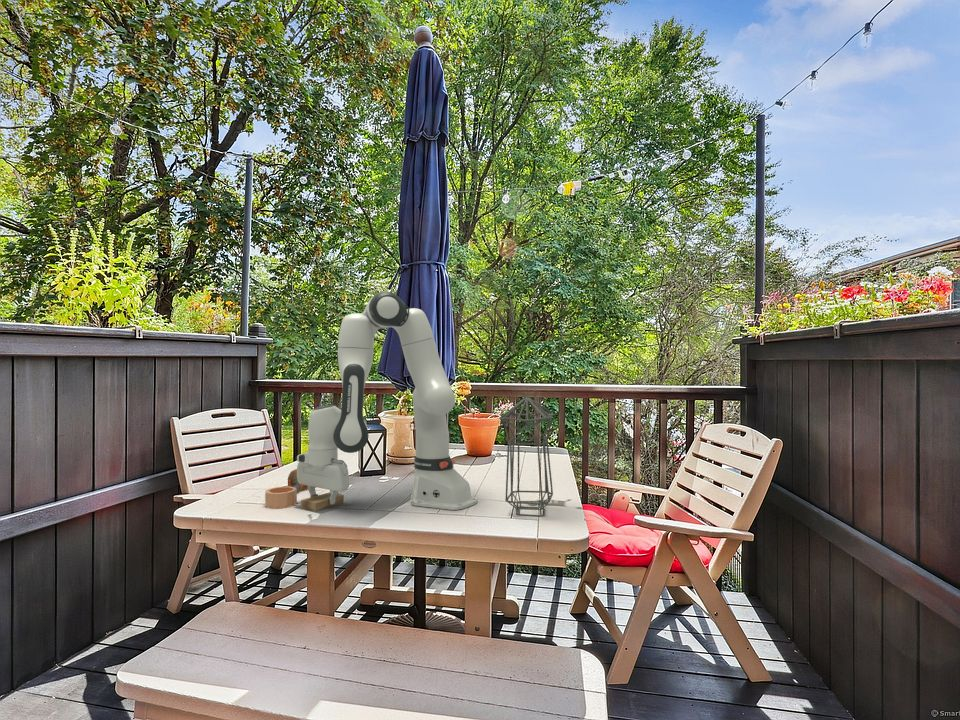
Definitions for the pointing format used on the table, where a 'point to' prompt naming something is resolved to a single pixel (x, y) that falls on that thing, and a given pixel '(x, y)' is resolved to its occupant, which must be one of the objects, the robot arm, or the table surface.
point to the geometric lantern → (545, 416)
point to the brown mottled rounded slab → (295, 482)
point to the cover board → (320, 502)
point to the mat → (326, 508)
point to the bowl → (280, 497)
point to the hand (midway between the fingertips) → (322, 501)
